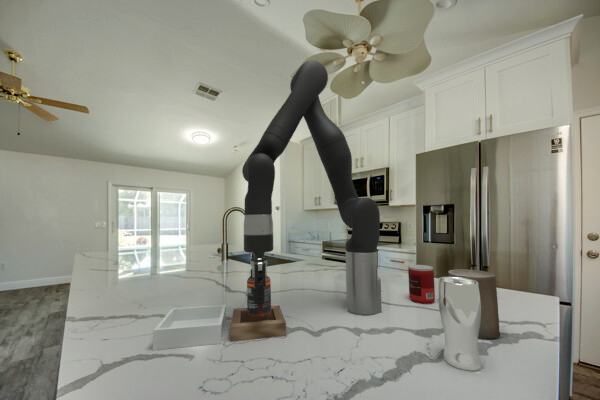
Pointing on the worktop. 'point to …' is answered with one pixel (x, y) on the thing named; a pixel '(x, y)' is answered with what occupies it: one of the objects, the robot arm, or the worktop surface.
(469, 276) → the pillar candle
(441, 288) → the beer glass
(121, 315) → the worktop surface
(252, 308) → the supplement bottle
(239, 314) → the walnut collar
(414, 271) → the canned food
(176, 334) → the grey tray
